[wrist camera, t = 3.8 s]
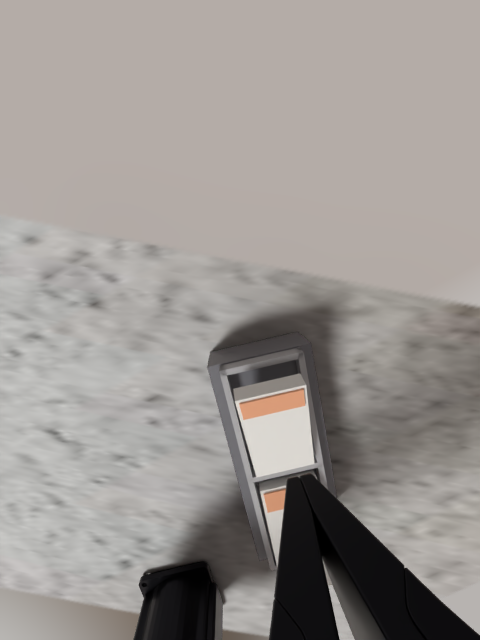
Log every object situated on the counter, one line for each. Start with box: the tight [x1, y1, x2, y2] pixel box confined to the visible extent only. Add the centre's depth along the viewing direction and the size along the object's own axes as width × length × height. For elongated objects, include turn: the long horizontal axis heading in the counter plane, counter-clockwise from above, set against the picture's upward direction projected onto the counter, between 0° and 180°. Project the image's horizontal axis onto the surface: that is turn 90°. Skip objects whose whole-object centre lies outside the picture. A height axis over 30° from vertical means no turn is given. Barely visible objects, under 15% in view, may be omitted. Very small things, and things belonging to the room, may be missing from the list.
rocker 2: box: [259, 470, 332, 585], centre depth 17 cm, size 4×7×1 cm, turn 13°
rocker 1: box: [233, 374, 314, 477], centre depth 15 cm, size 4×7×1 cm, turn 13°
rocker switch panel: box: [207, 332, 337, 571], centre depth 19 cm, size 7×17×4 cm, turn 13°
